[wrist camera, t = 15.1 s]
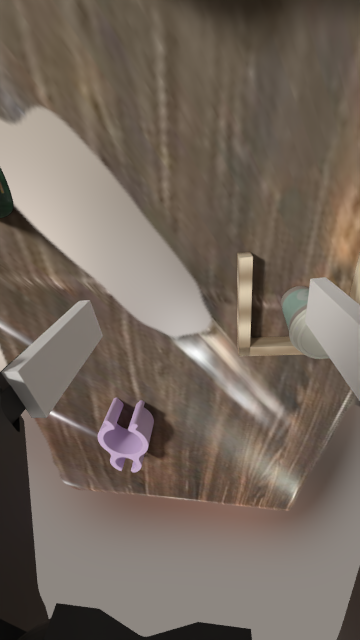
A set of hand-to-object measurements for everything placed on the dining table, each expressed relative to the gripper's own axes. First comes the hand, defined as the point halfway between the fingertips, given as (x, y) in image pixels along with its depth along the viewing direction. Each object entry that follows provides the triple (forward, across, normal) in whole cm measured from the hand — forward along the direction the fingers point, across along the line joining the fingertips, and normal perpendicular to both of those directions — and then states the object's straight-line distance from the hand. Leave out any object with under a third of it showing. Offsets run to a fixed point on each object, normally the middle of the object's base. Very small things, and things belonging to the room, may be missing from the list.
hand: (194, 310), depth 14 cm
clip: (+27, -24, -47) cm, 60 cm away
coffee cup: (+28, +16, -14) cm, 35 cm away
